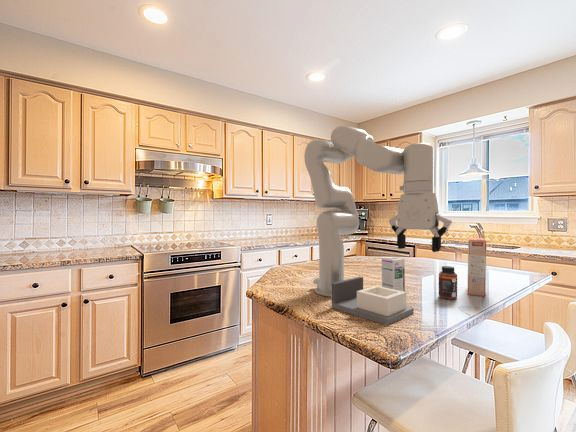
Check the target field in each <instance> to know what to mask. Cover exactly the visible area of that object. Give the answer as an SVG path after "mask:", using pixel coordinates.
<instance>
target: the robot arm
mask: <svg viewBox="0 0 576 432" xmlns="http://www.w3.org/2000/svg"><path fill="white" fill-rule="evenodd" d="M303 157H304V163H305V169H306V171H307V172H308V175H309V178H310V184H311V188H312V191H313V197H314V201H315V204H316V206H317V207H318V208H320V209H323V210H326V211H323V212H320V213H319V215H318V216H317V217H316V229H317V235H318V255H319V256H318V257H319V258H318V259H319V260H318V273H319V275H318V277H317V278H315V280H313V281H312V283H313V284H314V285H316V288H315V289H314V293H315V294H317V295H319V296H324V297H330V298H332V283H335V282H339V281H343V280H345V246H344V243H343V240H342V238H341V236H346V235H348V236H349V235H353V234H355V233H356V232H358V230H359V227H360V218H359V214H358V210H357V206H356V202H355V199H354V195H353V192H352V191H351V190H350V189H349V187H347V186H343V185H335V183H334V181H333V177H332V173H331V171H330V169H329V168H328V166H326V164H324V163H330V164H343V163H345V162H347V161H349V160H350V159H352V158H355V160H356V161H357V163H358V164H360V165H362V166H364V168H365V167H366V168H367V169H369V170H372V171H373V172H377V173H380V174H381V173H383V174H390V175H391V174H392V175H403V183H402V185H400V186H399V191H401V192H402V191H403V193H401V194H400V197H399V201H398V206H397V215H394V216H393V217H392V218H390V219H388V223H389V225H390V226H391V229H392V231H394V233H395V235H396V245H397V249H398V250H401V249H406V246H407V245H406V241H407V240H406V234H405V233H406V231H407V230H420V231H421V230H424V231H425V230H427V231H430V232H431V233H432V235H433V236H432V238H431V252H433V253H438V252H440V250H441V248H442V237H443V236H444V234H446V233H447V232H448V231H449V229H450V227H451V226H452V224H453V221H452V220H451V219H449V218H448V217H445V216H444V215H441V214H439V212H440V211H439V203H438V199H437V195H436V193H435V192H434V148H433V145H432V144H430V143H427V142H416V143H410V144H409V145H406V146H405V147H404V149H402V148H396V147H391V146H384V145H381V144H378V143H377V142H375V140H374V138H373V135H370V134H369V133H367V132H366V131H365V130H364V129H362V128H359V127H353V126H348V125H340V126H336V128H334V129H333V130H332V132H331V134H330V140H327V139H313V140H311V141H309V142H308V143H307V145H306V146H305V150H304V155H303ZM440 222H441V223H442V224H443V225H442V227H440V228H439V225H440Z"/></svg>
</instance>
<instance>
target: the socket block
mask: <svg viewBox="0 0 576 432" xmlns="http://www.w3.org/2000/svg"><path fill="white" fill-rule="evenodd" d="M406 306H407V291H405V292H403V291H398V290H394V289H389V288H384V287H382V286H379V285H373V286H370V287H367V288H363V290H359V291H357V308H361V309H364V310H368V311H371V312H374V313H378V314H381V315H384V316H390V315H392V314H394V313H397V312H399V311H402V310H404V309H406Z"/></svg>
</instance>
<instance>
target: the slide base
mask: <svg viewBox="0 0 576 432" xmlns="http://www.w3.org/2000/svg"><path fill="white" fill-rule="evenodd" d="M363 289H364V277H363V276H357V277H352V278H348V279H344V280H343V281H339V282H335V283H332V297H331V308H333V309H336V310H338V311H341V312H345V313H348V314H350V315H353V316H357V317H360V318H363V319H365V320H366V319H367V320H370V321H373V322H376V323H378V324H381V325H384V326H389V325H391V324H393V323H395V322H397V321H400V320H402V319H404V318H407V317H409V316H411V315H414V313H415V312H414V311H415V309H414V307H411V306H407V305H406V309H404V310H402V311H399V312H397V313H394V314H392V315H390V316H384V315H381V314H378V313H374V312H371V311H368V310H364V309H361V308H357V291H359V290H363Z"/></svg>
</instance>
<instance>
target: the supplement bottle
mask: <svg viewBox="0 0 576 432" xmlns="http://www.w3.org/2000/svg"><path fill="white" fill-rule="evenodd" d="M438 296H439V298H441V299H444V300H453V301H454V300H457V298H458V274H457V273H456V272H455V267H454V266H450V265H444V266H443V265H442V266H441V271H440V272H439V273H438Z"/></svg>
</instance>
